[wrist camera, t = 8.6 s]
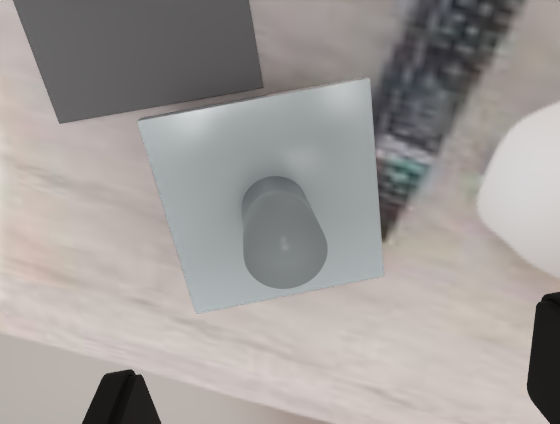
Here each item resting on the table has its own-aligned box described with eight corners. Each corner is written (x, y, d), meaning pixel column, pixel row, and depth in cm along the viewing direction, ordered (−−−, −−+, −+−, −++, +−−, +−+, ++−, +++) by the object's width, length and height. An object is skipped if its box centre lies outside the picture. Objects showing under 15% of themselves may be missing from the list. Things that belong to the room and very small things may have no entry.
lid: (363, 76, 19) (414, 86, 14) (378, 267, 24) (422, 333, 18) (141, 117, 19) (102, 144, 13) (197, 303, 23) (185, 382, 18)
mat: (233, -85, 23) (233, -88, 23) (262, 87, 27) (263, 87, 27) (-2, -48, 23) (-6, -49, 23) (61, 122, 27) (59, 123, 26)
